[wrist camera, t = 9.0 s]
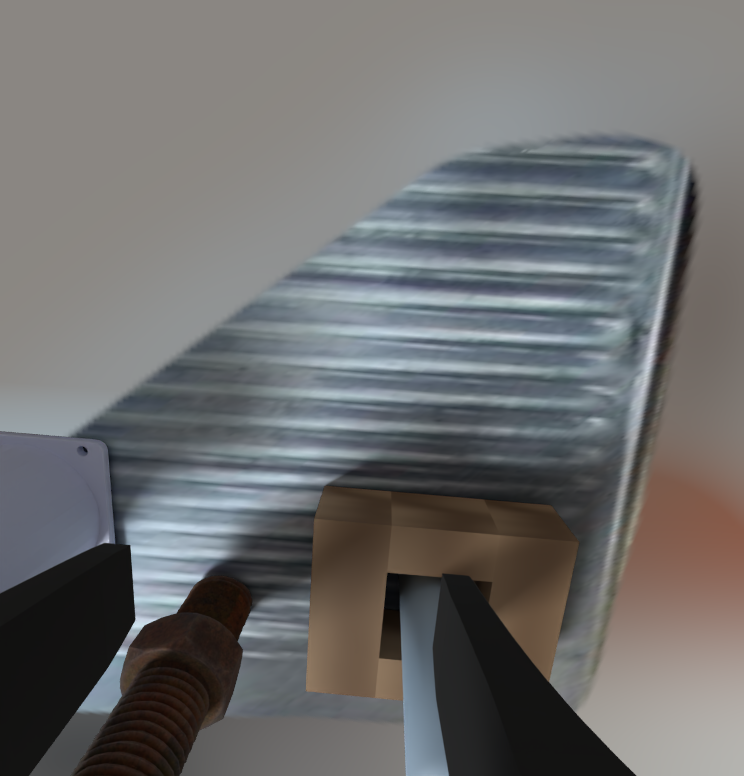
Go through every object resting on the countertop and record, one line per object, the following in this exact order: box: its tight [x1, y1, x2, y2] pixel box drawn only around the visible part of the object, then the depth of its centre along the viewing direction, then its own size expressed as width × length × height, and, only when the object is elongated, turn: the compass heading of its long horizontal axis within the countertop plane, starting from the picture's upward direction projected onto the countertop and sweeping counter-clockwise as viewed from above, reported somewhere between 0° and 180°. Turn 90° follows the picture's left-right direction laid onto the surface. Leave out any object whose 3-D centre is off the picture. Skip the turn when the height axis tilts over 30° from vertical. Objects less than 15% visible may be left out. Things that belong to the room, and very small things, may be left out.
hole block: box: [306, 486, 579, 700], centre depth 20 cm, size 11×9×3 cm
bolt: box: [71, 576, 252, 776], centre depth 15 cm, size 6×5×15 cm
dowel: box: [399, 574, 449, 776], centre depth 16 cm, size 3×3×10 cm
